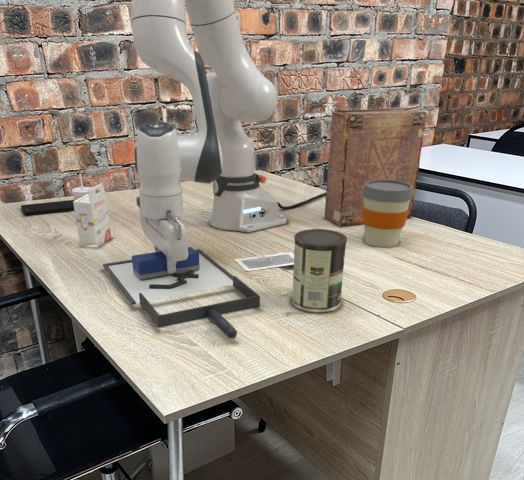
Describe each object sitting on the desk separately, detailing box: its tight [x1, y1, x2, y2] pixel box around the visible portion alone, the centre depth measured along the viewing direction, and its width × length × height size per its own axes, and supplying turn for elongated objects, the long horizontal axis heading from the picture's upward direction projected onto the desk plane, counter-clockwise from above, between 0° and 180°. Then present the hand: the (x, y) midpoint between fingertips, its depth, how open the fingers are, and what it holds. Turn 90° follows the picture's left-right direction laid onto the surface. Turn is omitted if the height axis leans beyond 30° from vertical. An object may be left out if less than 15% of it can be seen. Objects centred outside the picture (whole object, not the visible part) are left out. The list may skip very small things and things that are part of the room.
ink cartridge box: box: [73, 182, 112, 247], centre depth 142 cm, size 9×5×15 cm, turn 168°
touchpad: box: [234, 251, 294, 272], centre depth 132 cm, size 8×15×2 cm, turn 113°
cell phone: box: [20, 199, 75, 216], centre depth 171 cm, size 9×18×1 cm, turn 117°
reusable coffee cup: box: [362, 180, 412, 248], centre depth 147 cm, size 12×13×15 cm
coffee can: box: [291, 228, 348, 313], centre depth 112 cm, size 10×10×14 cm
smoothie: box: [71, 173, 97, 200], centre depth 156 cm, size 6×6×14 cm
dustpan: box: [139, 275, 261, 340], centre depth 107 cm, size 22×21×3 cm
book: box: [323, 107, 428, 227], centre depth 161 cm, size 25×9×30 cm, turn 114°
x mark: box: [173, 270, 199, 281], centre depth 123 cm, size 5×4×1 cm
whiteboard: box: [102, 248, 234, 305], centre depth 125 cm, size 24×23×2 cm
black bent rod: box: [149, 280, 187, 289], centre depth 118 cm, size 8×3×1 cm, turn 113°
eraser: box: [131, 246, 200, 279], centre depth 125 cm, size 14×5×4 cm, turn 119°
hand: (166, 267), depth 125 cm, fingers closed on eraser, 5 cm apart
